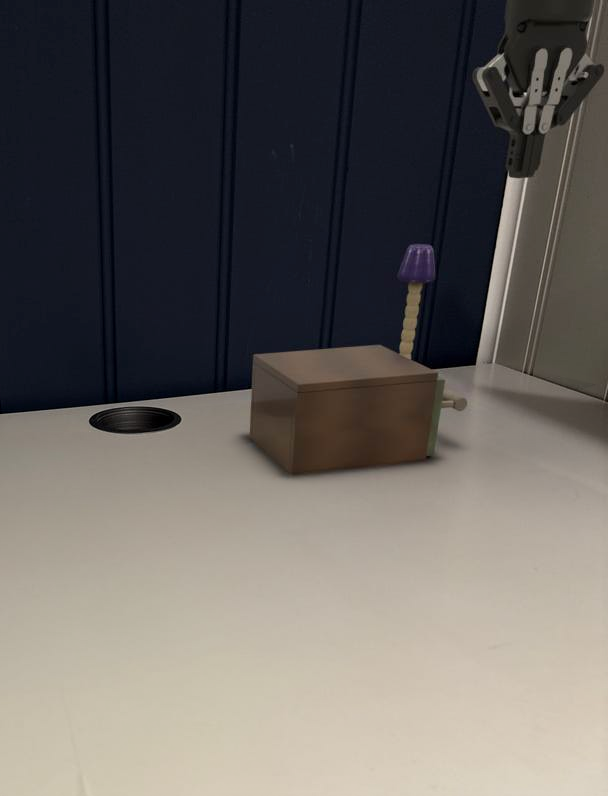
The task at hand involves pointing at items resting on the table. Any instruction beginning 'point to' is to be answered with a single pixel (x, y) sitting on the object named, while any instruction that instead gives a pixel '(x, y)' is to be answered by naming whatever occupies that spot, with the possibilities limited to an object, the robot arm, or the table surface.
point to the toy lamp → (414, 289)
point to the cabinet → (341, 408)
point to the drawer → (442, 400)
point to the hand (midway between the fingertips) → (520, 177)
